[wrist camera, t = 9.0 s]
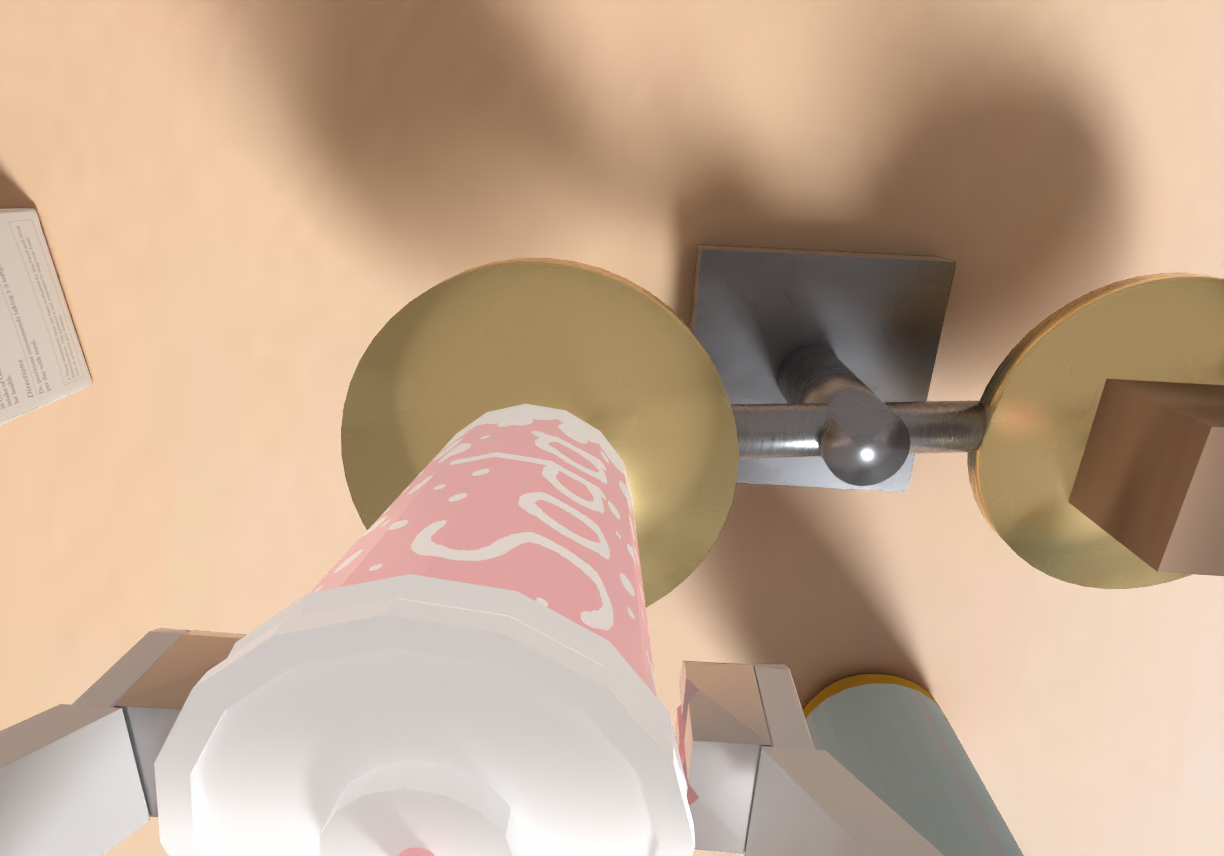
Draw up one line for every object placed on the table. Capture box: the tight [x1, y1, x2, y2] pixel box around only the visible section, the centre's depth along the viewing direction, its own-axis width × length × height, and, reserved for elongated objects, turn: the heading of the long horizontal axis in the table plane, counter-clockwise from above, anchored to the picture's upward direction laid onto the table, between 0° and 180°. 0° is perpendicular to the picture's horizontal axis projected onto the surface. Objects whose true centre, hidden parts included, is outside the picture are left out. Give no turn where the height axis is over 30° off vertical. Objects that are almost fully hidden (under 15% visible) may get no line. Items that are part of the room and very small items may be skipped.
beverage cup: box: [154, 404, 695, 856], centre depth 10 cm, size 6×6×14 cm
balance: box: [341, 245, 1224, 607], centre depth 23 cm, size 28×10×11 cm, turn 87°
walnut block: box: [1069, 379, 1224, 576], centre depth 19 cm, size 4×4×4 cm
